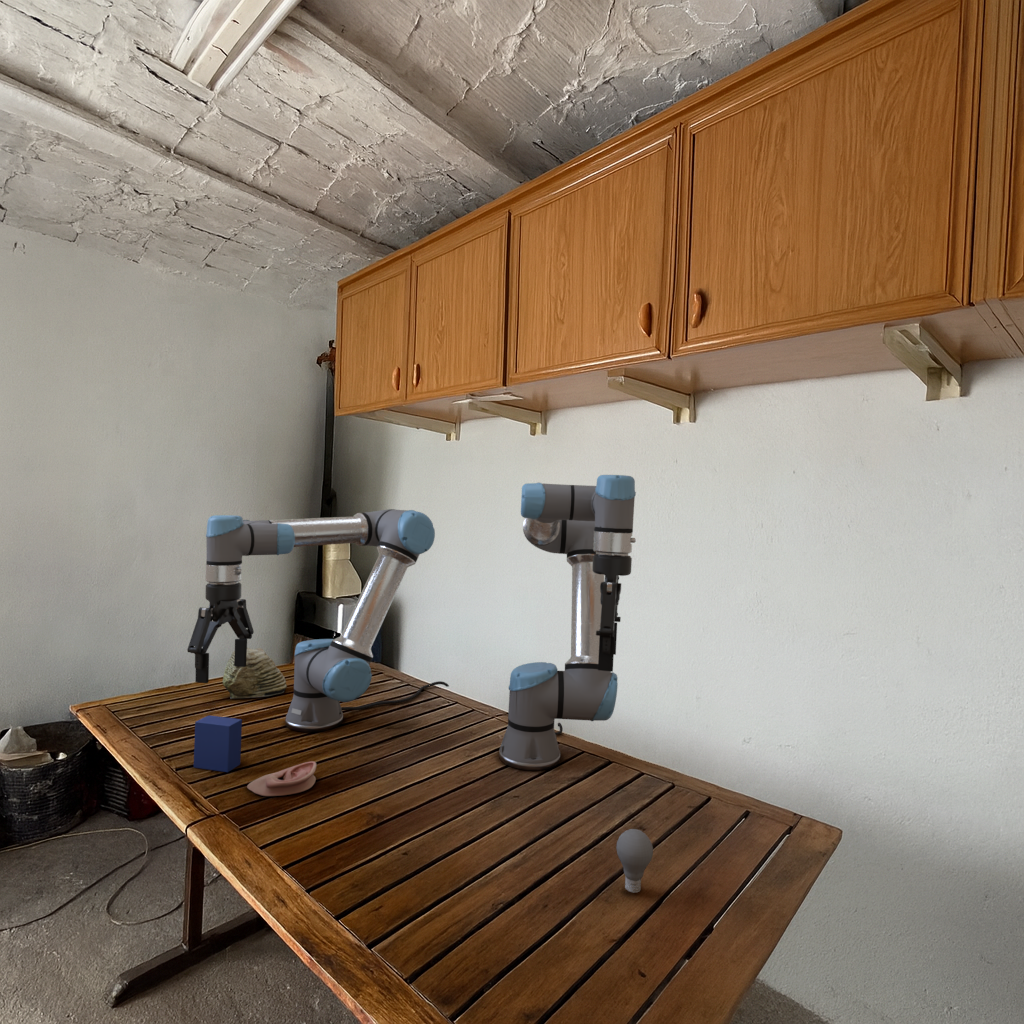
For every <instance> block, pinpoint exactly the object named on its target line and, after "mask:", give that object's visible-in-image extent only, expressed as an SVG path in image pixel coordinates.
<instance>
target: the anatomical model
mask: <svg viewBox="0 0 1024 1024" xmlns="http://www.w3.org/2000/svg"><path fill="white" fill-rule="evenodd" d="M316 770H317V762H316V761H314V760H311V761H306V762H303V763H298V764H296V765H293V766H290V767H287V768H284V769H282V770H279V771H275V772H272V773H269V774H265V775H263V776H260V777H257V778H256V779H254V780H252V781H250V782H249V783H248V784H247V786H246V788H247V789H248V790H249V791H250V792H251V793H253V794H256V795H259V796H263V797H277V796H287V795H295V794H299V793H302V792H305V791H307V790H309V789H311V788H312V787H313V786H314V785H315V784H316V780H317V777H316V776H315V775H314V774H315V772H316Z"/></svg>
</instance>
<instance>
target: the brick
mask: <svg viewBox="0 0 1024 1024" xmlns="http://www.w3.org/2000/svg"><path fill="white" fill-rule="evenodd" d="M242 729H243V719H241V718H233V717H225V716H217V715H210V714H209V715H206V716H204V717H202V718H200V719H198V720H196V721H194V743H193V744H194V747H193V749H194V750H193V768H195V769H201V770H208V771H214V772H215V771H216V772H222V773H223V772H224V773H229V772H230V771H232V770H235V768H237V767H239V766H240V765H241V761H242V760H241V759H242V758H241V757H242V731H243V730H242Z"/></svg>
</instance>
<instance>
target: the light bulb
mask: <svg viewBox="0 0 1024 1024" xmlns="http://www.w3.org/2000/svg"><path fill="white" fill-rule="evenodd" d="M615 849H616V854H617V857H618V859H619V861H620V863H621V865H622V867H623V873H624V874H623V875H624V876H625V878H624V888H625V890H627V891H628V892H630V893H634V894H635V893H639V892H640V891H641V889H642V887H641V886H642V879H643V877H644V875H645V871H646V868H647V867H648V866H649V864H650V863H651V861H652V859H653V855H654V847H653V843H652V841H651V838H649V836H648V835H647V834H646V833H645V832H643V831H642V830H641V829H636V828H629V829H627V830H625V831H623V832H622V833H621V834H620V835H619V837H618V839H617V841H616V847H615Z"/></svg>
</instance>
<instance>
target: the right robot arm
mask: <svg viewBox="0 0 1024 1024" xmlns="http://www.w3.org/2000/svg"><path fill="white" fill-rule="evenodd" d="M636 493H637V492H636V480H635V477H633V476H631V475H625V474H600V475H599V476H598V477H597V478H596V485H582V484H561V483H560V484H559V483H558V484H557V483H542V482H532V483H529V482H528V483H524V484H523V485H522V487H521V496H520V497H521V498H520V499H521V500H520V502H521V503H520V515H521V517H522V518H523V519H524V520H523V523H522V531H523V535H524V538H525V539H526V540H527V541H528V543H529V544H531V545H532V546H534V547H535V548H537V549H539V550H541V551H545V552H547V553H550V554H551V553H552V554H560V555H566V562H567V563H568V564H569V565H570V566H571V621H570V622H571V629H570V630H571V631H570V658H569V659H568V660H567V661H566V662H565V663H564V670H558V668H557V665H556V664H555V663H553V662H546V661H536V662H529V663H525V664H524V663H523V664H521V665H518V666H516V667H515V668H513V669H512V671H511V673H510V675H509V676H510V677H509V685H508V690H509V693H508V695H509V696H508V710H507V711H508V712H507V727H506V730H505V733H504V735H503V738H502V740H501V743H500V746H499V751H498V752H499V753H498V758H499V759H500V761H501V762H502V763H503V764H505V765H506V766H507V767H511V768H514V769H517V770H523V771H544V770H549V769H552V768H554V767H556V766H557V765H559V764H560V761H561V750H560V747H559V744H558V739H557V736H560V735H561V734H562V733H563V725H562V723H561V722H558V723H557V727H558V728H559V731H555V720H572V721H590V722H594V721H596V722H597V721H599V722H600V721H601V722H602V721H603V722H604V721H605V722H606V721H608V720H610V719H611V718H612V716H613V714H614V710H615V707H616V702H617V696H618V685H619V684H618V683H619V682H618V674H617V673H615V672H614V655H617V640H618V639H617V638H618V637H617V636H618V623H621V618H622V617H621V616H619V613H618V606H619V604H620V603H619V602H620V599H621V597H620V596H621V593H622V583H621V582H619V581H620V577H624V576H630V575H631V574H632V561H633V558H632V557H631V555H629V554H631V553H632V552H633V544H635V543H636V542H637V541H636V540H637V539H636V538H635V537H633V532H634V514H635V500H636V498H635V497H636V495H637V494H636Z"/></svg>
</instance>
